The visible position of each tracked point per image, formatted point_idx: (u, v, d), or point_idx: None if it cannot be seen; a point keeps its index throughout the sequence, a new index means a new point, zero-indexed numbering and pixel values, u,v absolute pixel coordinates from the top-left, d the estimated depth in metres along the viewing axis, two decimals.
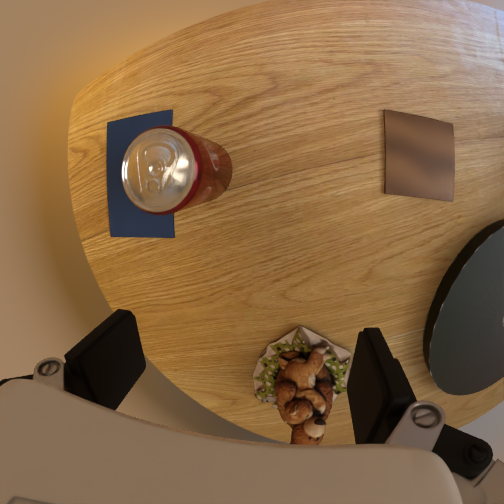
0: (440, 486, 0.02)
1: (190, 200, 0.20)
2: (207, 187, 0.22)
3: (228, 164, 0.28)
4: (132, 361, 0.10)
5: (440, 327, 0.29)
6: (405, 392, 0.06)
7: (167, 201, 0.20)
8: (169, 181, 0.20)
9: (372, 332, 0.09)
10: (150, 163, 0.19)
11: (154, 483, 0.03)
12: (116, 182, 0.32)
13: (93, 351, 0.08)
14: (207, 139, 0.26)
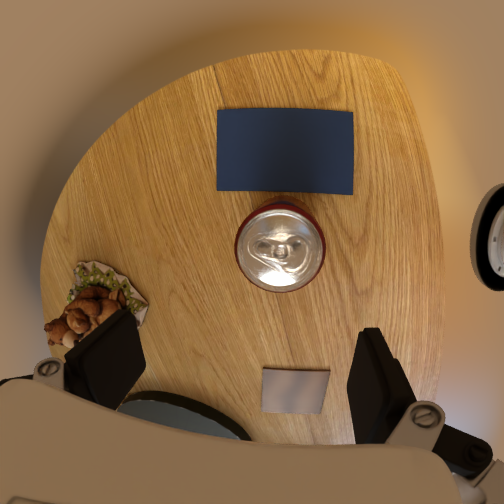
0: (440, 486, 0.02)
1: (248, 279, 0.23)
2: None
3: None
4: (132, 361, 0.10)
5: (166, 407, 0.40)
6: (405, 392, 0.06)
7: (247, 262, 0.22)
8: (266, 266, 0.22)
9: (372, 332, 0.09)
10: (287, 246, 0.21)
11: (154, 483, 0.03)
12: (279, 121, 0.29)
13: (93, 351, 0.08)
14: None
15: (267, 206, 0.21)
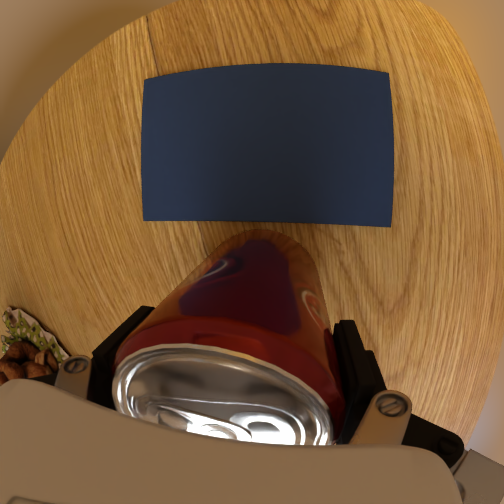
0: (440, 486, 0.02)
1: None
2: None
3: None
4: None
5: None
6: (372, 381, 0.06)
7: None
8: None
9: (346, 324, 0.09)
10: (235, 428, 0.06)
11: (154, 483, 0.03)
12: (251, 87, 0.14)
13: None
14: None
15: (166, 325, 0.06)
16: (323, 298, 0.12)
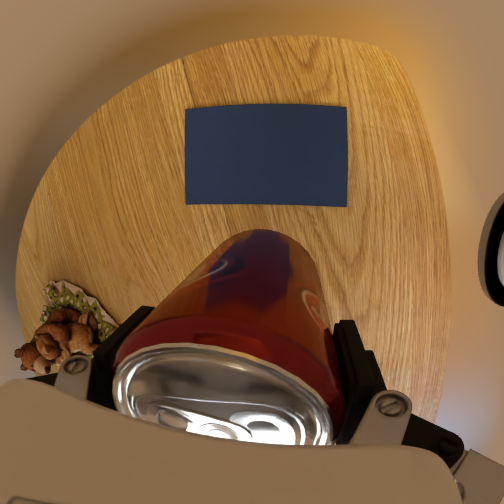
0: (440, 486, 0.02)
1: None
2: None
3: None
4: None
5: None
6: (372, 381, 0.06)
7: None
8: None
9: (346, 324, 0.09)
10: (235, 428, 0.06)
11: (154, 483, 0.03)
12: (258, 120, 0.24)
13: None
14: None
15: (166, 325, 0.06)
16: (323, 298, 0.12)
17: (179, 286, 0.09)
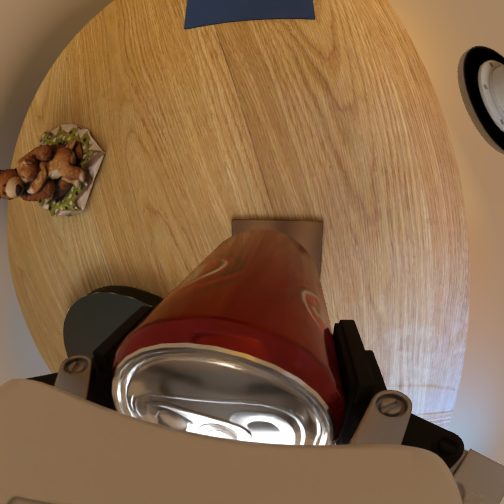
0: (440, 486, 0.02)
1: None
2: None
3: None
4: None
5: (112, 300, 0.33)
6: (372, 381, 0.06)
7: None
8: None
9: (346, 324, 0.09)
10: (235, 429, 0.06)
11: (154, 483, 0.03)
12: None
13: None
14: None
15: (165, 325, 0.06)
16: (323, 298, 0.12)
17: (179, 286, 0.09)
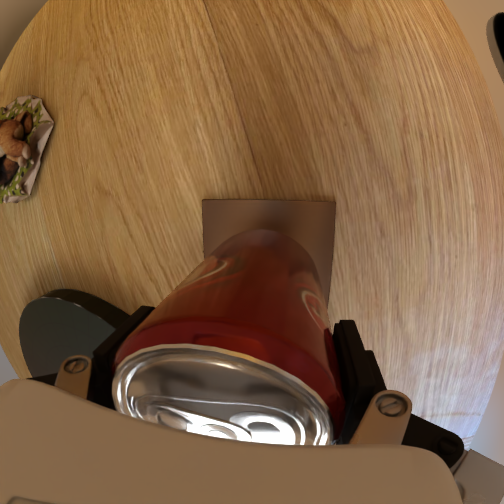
0: (440, 486, 0.02)
1: None
2: None
3: None
4: None
5: (59, 308, 0.23)
6: (372, 381, 0.06)
7: None
8: None
9: (346, 324, 0.09)
10: (235, 429, 0.06)
11: (154, 483, 0.03)
12: None
13: None
14: None
15: (165, 325, 0.06)
16: (323, 298, 0.12)
17: (179, 286, 0.09)
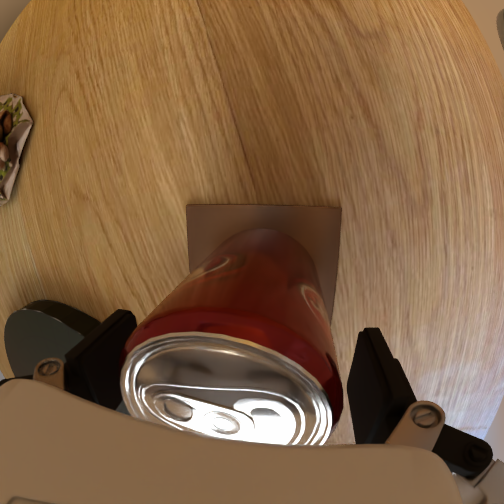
0: (440, 486, 0.02)
1: None
2: None
3: None
4: None
5: (40, 321, 0.20)
6: (405, 393, 0.06)
7: None
8: None
9: (372, 332, 0.09)
10: (238, 416, 0.07)
11: (154, 483, 0.03)
12: None
13: (93, 351, 0.08)
14: None
15: (174, 315, 0.07)
16: (321, 294, 0.12)
17: (184, 281, 0.10)
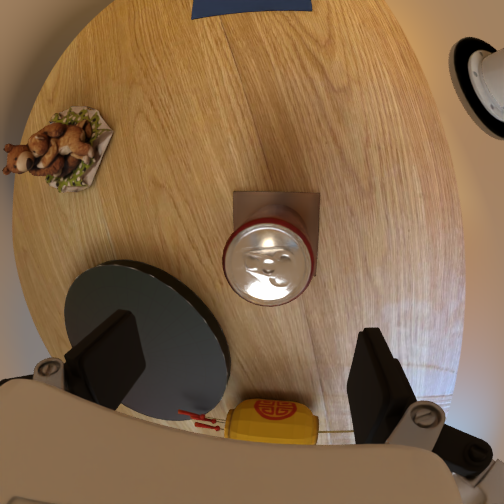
0: (440, 486, 0.02)
1: (237, 292, 0.23)
2: None
3: None
4: (132, 361, 0.10)
5: (115, 272, 0.34)
6: (405, 393, 0.06)
7: (235, 276, 0.21)
8: (254, 280, 0.21)
9: (372, 332, 0.09)
10: (275, 261, 0.21)
11: (154, 483, 0.03)
12: None
13: (93, 351, 0.08)
14: None
15: (254, 220, 0.20)
16: None
17: (248, 218, 0.24)
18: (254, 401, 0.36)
